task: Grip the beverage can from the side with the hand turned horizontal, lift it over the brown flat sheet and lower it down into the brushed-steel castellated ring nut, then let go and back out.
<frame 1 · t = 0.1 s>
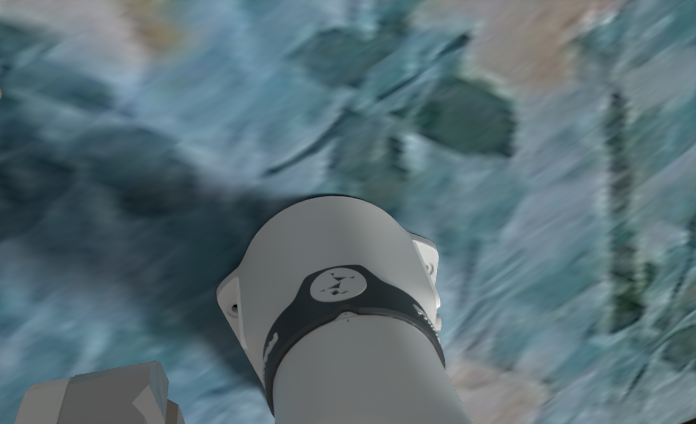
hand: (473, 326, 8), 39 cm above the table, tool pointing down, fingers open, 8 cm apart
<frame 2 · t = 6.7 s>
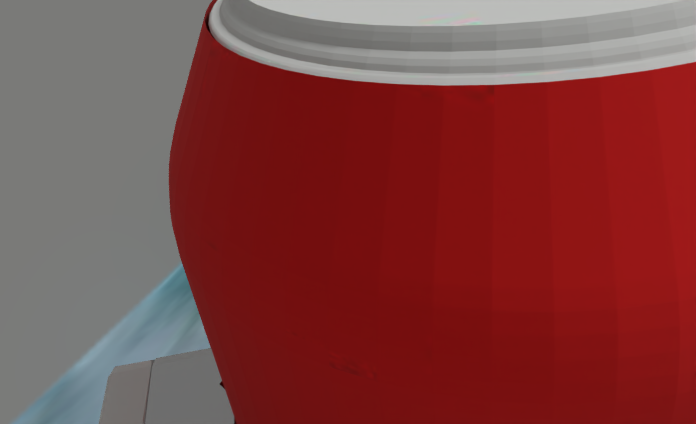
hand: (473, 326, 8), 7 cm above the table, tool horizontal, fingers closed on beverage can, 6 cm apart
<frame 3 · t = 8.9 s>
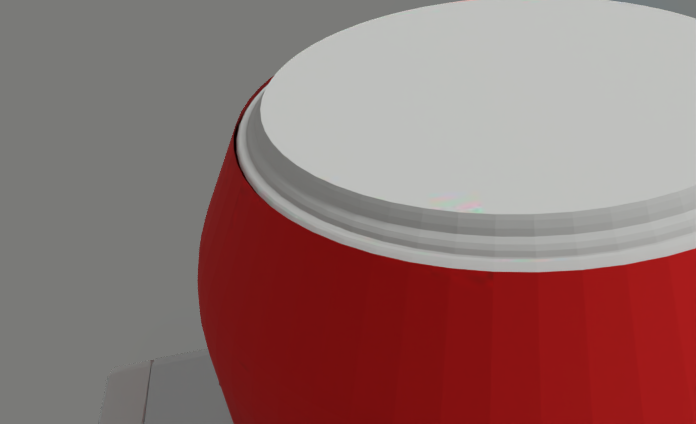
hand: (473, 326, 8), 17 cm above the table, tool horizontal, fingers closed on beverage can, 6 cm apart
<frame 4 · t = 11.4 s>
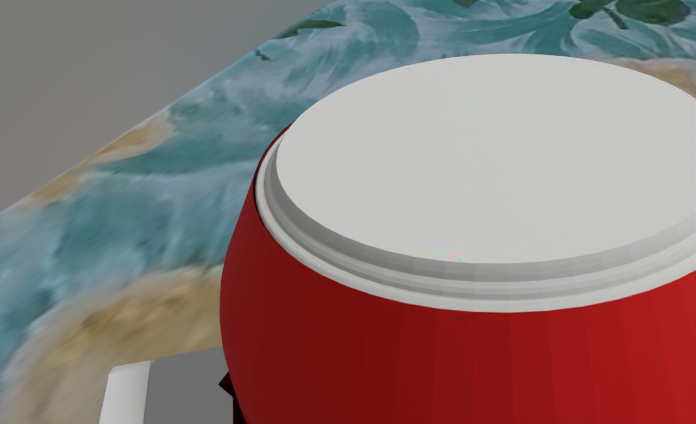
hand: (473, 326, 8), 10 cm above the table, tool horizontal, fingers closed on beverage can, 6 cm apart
when the fingers open (10 cm above the table, at t = 12.0 s): beverage can stays where it is, resting on brown flat sheet.
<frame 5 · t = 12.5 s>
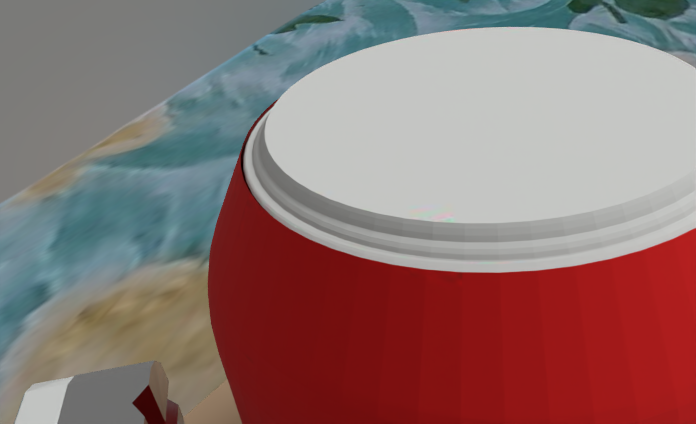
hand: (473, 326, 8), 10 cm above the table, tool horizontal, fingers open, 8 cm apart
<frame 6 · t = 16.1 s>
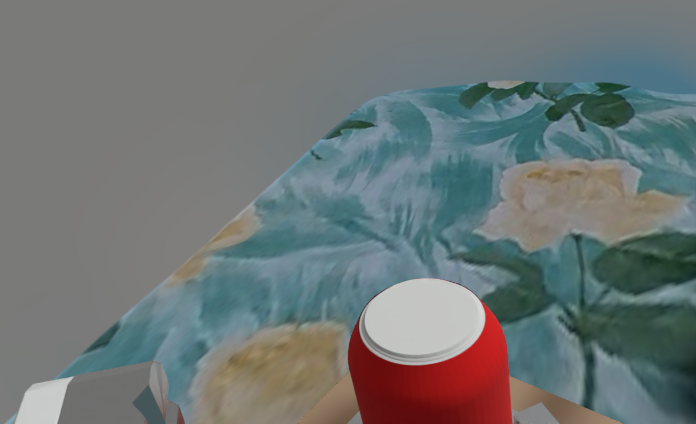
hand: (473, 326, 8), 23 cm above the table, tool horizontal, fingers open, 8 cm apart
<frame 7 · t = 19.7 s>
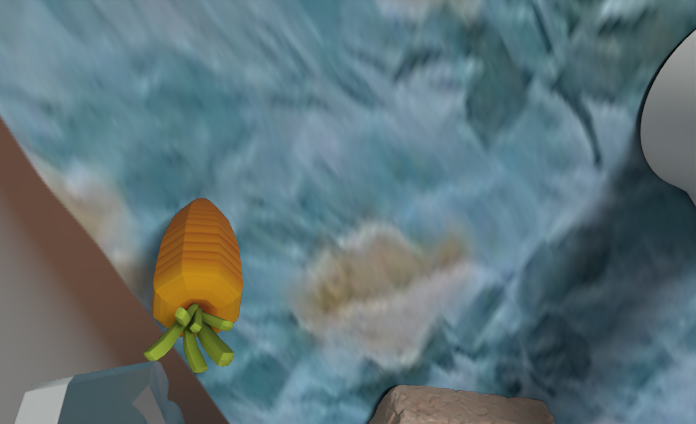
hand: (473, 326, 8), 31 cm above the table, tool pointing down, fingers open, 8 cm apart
brick: (452, 416, 59), on the table
carrot: (201, 200, 42), on the table
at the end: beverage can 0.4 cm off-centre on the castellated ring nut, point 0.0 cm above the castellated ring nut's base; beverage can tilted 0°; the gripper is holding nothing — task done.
